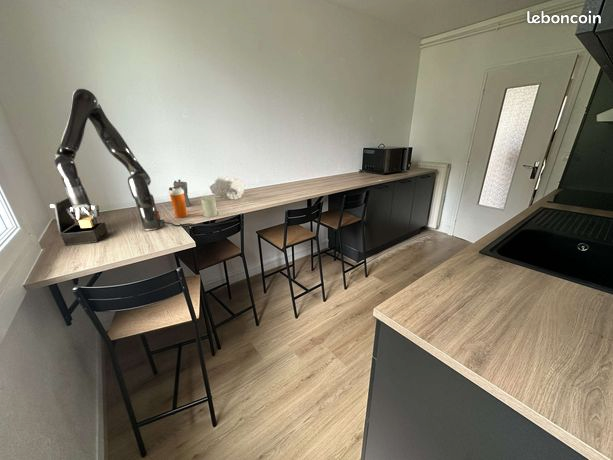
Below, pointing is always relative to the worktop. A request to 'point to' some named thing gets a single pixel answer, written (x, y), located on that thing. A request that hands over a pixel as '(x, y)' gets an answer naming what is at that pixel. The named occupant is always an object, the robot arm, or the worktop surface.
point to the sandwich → (86, 222)
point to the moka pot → (184, 187)
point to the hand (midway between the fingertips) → (89, 224)
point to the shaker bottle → (178, 201)
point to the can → (209, 206)
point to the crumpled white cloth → (227, 187)
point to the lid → (63, 215)
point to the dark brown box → (84, 234)
